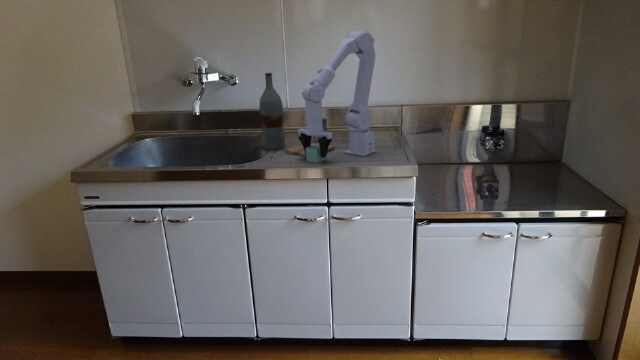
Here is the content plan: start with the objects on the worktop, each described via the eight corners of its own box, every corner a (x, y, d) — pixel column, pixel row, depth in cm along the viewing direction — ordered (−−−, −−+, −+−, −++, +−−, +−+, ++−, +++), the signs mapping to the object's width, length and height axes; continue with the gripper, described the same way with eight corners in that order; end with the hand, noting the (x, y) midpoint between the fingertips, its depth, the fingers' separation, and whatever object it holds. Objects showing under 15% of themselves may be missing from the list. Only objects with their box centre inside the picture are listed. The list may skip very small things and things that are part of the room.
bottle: (260, 150, 178) (254, 74, 168) (264, 144, 187) (258, 72, 177) (283, 150, 177) (278, 73, 168) (286, 144, 186) (281, 71, 176)
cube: (325, 159, 162) (325, 146, 160) (316, 163, 158) (316, 149, 157) (315, 157, 165) (314, 144, 164) (306, 161, 162) (305, 147, 160)
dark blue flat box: (316, 142, 187) (315, 117, 184) (311, 141, 189) (309, 117, 185) (328, 137, 194) (327, 113, 191) (322, 137, 196) (322, 113, 192)
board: (334, 149, 174) (334, 146, 174) (311, 158, 164) (311, 154, 164) (308, 145, 183) (308, 142, 183) (284, 153, 173) (284, 149, 173)
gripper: (291, 118, 158) (293, 155, 163) (322, 122, 150) (324, 161, 154) (304, 115, 164) (306, 151, 168) (335, 119, 155) (336, 156, 159)
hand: (315, 155), depth 161 cm, fingers open, 7 cm apart
